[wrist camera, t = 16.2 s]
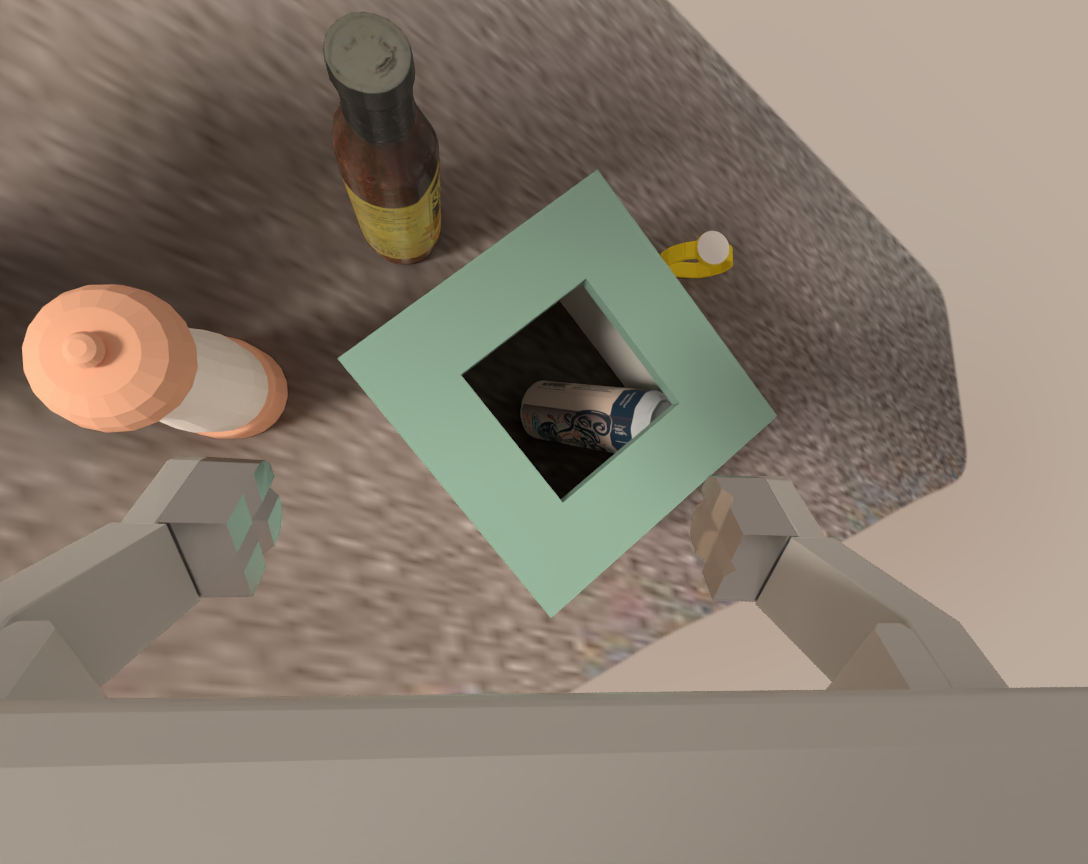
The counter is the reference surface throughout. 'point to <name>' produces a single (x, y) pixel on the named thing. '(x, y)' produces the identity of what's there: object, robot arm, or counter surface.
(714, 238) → the watch
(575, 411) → the beer can
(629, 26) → the counter surface
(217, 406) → the pepper shaker
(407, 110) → the sauce bottle
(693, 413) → the recycling bin
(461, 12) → the counter surface
